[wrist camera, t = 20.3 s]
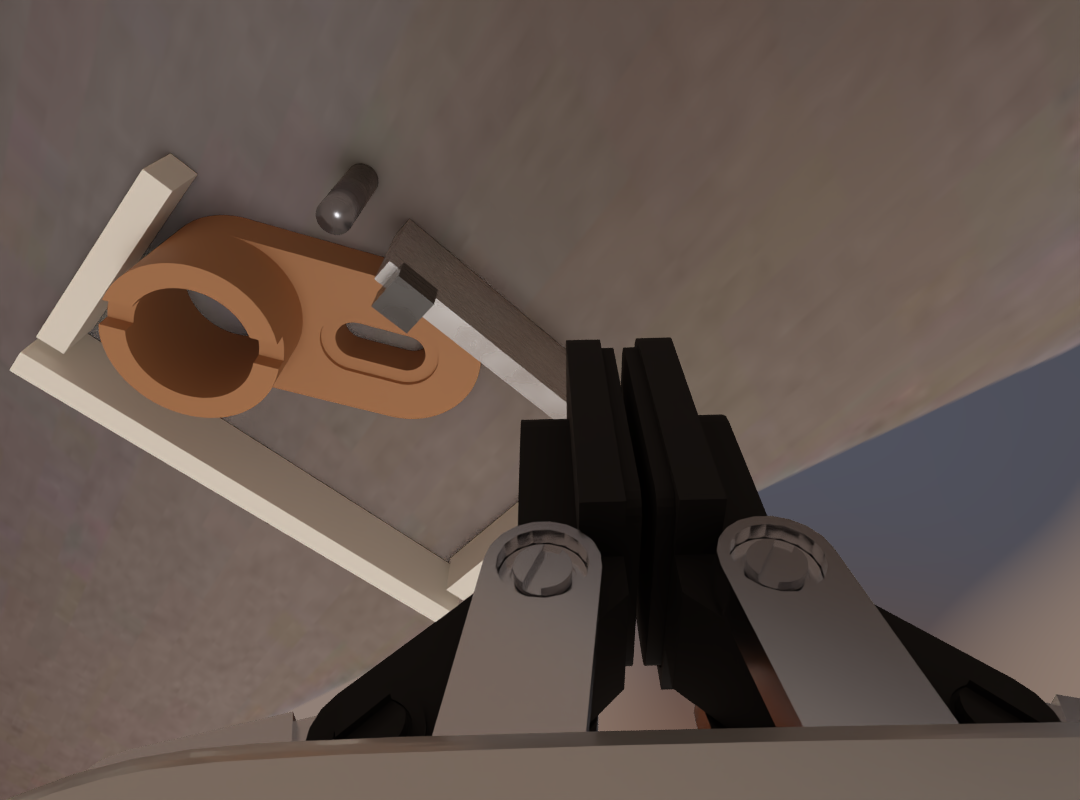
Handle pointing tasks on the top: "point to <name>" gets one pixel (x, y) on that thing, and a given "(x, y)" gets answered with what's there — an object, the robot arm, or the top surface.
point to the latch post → (347, 199)
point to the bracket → (271, 327)
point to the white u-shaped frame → (227, 426)
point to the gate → (470, 317)
